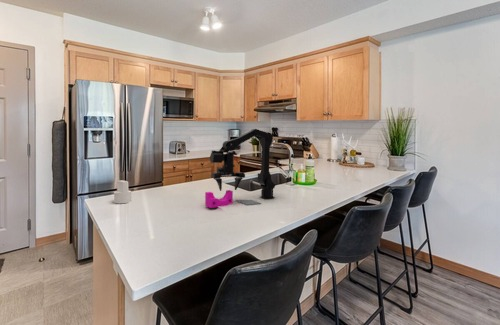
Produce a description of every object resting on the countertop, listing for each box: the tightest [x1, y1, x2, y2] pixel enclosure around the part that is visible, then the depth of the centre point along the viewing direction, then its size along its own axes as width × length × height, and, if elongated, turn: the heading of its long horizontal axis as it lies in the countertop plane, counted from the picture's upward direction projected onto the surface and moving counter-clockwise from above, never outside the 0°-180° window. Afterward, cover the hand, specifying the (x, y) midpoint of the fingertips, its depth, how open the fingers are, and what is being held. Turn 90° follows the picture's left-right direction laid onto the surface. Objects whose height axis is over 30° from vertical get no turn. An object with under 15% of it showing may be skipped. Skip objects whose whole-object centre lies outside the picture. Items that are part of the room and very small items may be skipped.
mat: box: [235, 199, 262, 206], centre depth 154 cm, size 9×18×1 cm, turn 28°
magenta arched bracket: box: [204, 189, 234, 209], centre depth 145 cm, size 15×6×8 cm, turn 125°
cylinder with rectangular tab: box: [113, 180, 132, 204], centre depth 153 cm, size 9×9×12 cm
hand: (228, 190), depth 151 cm, fingers open, 9 cm apart
